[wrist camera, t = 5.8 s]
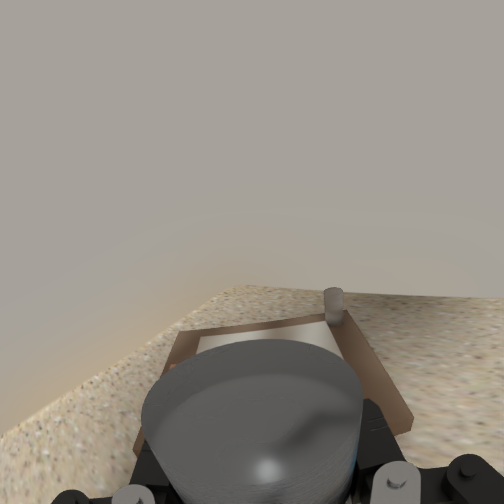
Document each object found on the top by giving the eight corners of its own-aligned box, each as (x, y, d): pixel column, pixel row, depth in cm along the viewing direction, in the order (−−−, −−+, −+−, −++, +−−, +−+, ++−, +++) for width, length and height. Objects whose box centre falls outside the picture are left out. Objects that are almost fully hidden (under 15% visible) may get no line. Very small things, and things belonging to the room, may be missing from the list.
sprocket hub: (352, 467, 13) (364, 299, 10) (387, 591, 5) (501, 483, 2) (186, 483, 13) (119, 328, 10) (167, 606, 5) (2, 502, 3)
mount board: (346, 320, 29) (345, 280, 27) (410, 430, 14) (423, 377, 13) (181, 341, 29) (172, 303, 28) (139, 461, 14) (112, 414, 13)
